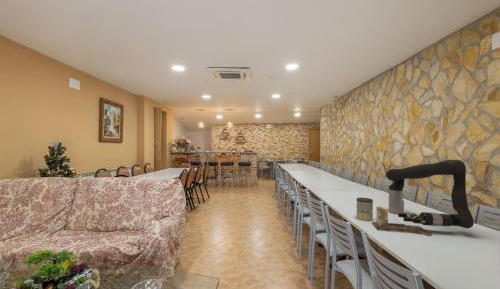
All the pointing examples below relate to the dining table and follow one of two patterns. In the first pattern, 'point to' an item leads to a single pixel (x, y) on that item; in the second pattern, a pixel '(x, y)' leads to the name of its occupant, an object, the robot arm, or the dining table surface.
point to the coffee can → (365, 209)
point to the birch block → (382, 216)
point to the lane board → (402, 228)
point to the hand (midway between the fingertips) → (400, 217)
